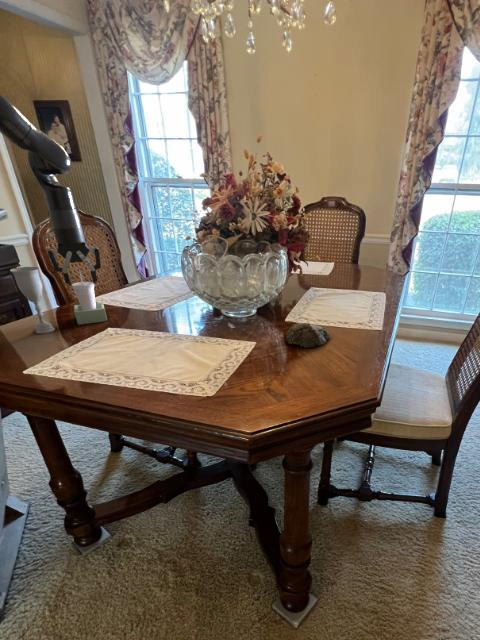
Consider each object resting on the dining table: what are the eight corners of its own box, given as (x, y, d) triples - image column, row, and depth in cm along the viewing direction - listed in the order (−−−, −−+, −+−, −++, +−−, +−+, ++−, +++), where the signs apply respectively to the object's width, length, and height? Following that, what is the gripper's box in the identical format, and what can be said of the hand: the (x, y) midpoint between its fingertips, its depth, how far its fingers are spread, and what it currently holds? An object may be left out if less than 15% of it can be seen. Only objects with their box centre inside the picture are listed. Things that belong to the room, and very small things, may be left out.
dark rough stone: (293, 331, 117) (293, 315, 114) (332, 335, 113) (332, 319, 111) (278, 345, 106) (278, 328, 104) (321, 350, 103) (321, 333, 100)
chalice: (63, 329, 116) (43, 268, 107) (39, 336, 111) (17, 272, 102) (50, 325, 119) (31, 265, 111) (27, 331, 114) (5, 269, 106)
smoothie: (83, 318, 120) (70, 272, 113) (77, 313, 124) (64, 269, 117) (104, 314, 124) (93, 269, 117) (97, 310, 128) (86, 267, 121)
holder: (78, 324, 120) (74, 312, 118) (77, 317, 127) (74, 305, 125) (107, 321, 124) (104, 308, 122) (105, 314, 130) (102, 302, 128)
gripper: (37, 228, 105) (56, 288, 114) (94, 226, 111) (108, 284, 119) (39, 225, 111) (57, 283, 119) (93, 224, 117) (106, 279, 125)
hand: (82, 283), depth 119 cm, fingers closed on smoothie, 6 cm apart
